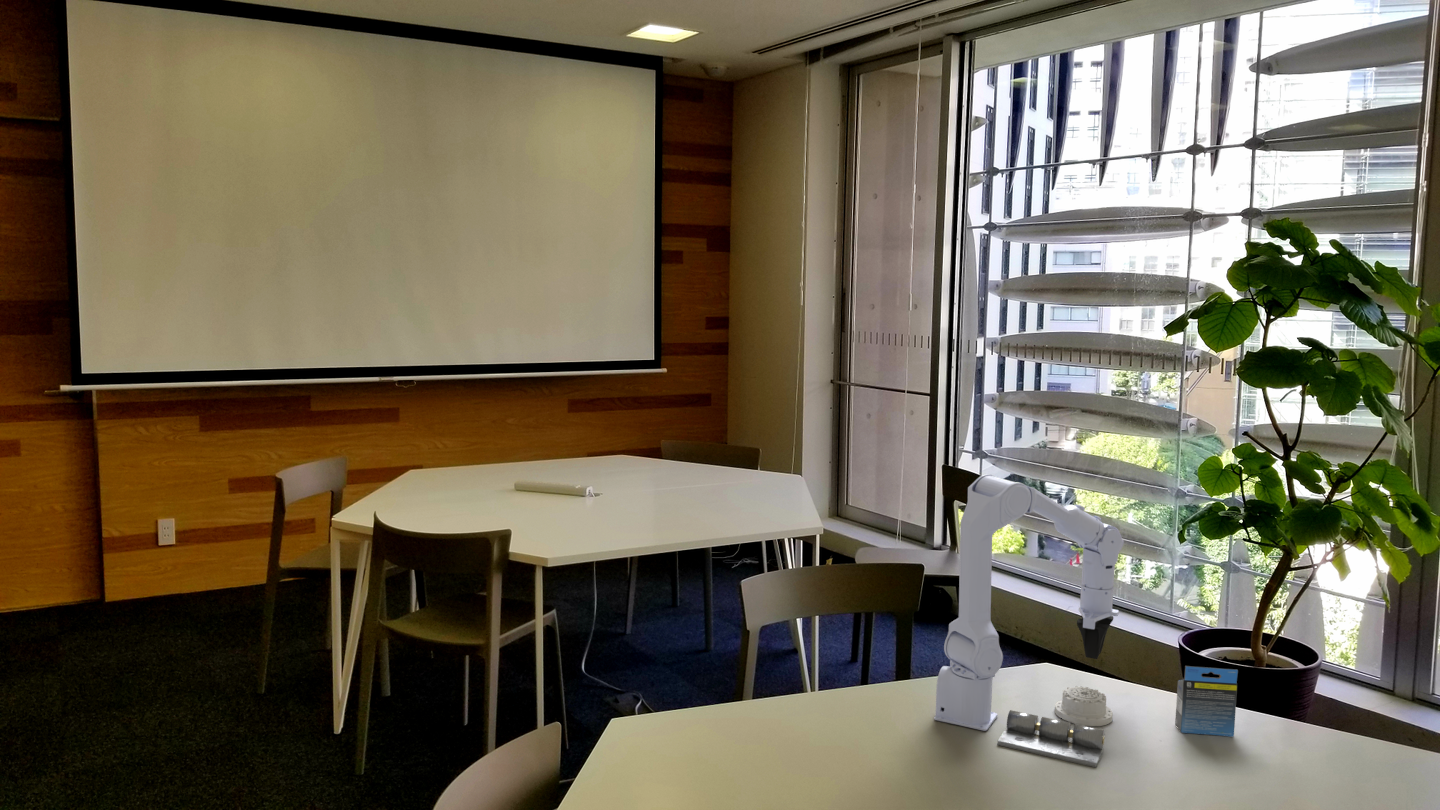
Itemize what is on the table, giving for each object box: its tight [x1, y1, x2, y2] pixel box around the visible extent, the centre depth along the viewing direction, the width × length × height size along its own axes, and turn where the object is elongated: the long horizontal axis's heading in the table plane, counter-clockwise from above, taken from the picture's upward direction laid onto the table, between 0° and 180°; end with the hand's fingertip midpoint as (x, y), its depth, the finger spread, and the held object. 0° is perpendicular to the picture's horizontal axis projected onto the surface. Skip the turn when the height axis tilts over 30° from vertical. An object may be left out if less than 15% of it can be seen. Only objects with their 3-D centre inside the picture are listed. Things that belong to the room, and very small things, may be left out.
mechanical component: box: [1054, 685, 1114, 727], centre depth 188 cm, size 10×4×10 cm
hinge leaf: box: [997, 709, 1106, 768], centre depth 175 cm, size 16×9×4 cm, turn 60°
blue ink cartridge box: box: [1174, 665, 1239, 738], centre depth 181 cm, size 9×4×12 cm, turn 80°
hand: (1093, 655), depth 195 cm, fingers open, 2 cm apart
